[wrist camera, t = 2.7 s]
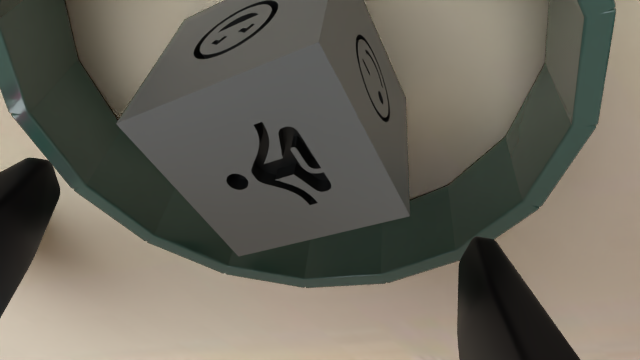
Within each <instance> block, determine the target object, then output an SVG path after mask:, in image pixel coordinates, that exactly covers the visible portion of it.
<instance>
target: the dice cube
mask: <svg viewBox="0 0 640 360" xmlns="http://www.w3.org/2000/svg"><path fill="white" fill-rule="evenodd" d="M116 124H117V125H118V126H119V128H120V129H121V130H122V131H123V132H124V133H125V134H126V135H127V136H128V137H129V138H130V139H131V141H132V142H133V143H134V144H135V145H136V146H137V147H138V148H139V149H140V150H141V151H142V152H143V154H144V155H145V156H146V157H147V158H148V159H149V160H150V161H151V162H152V163H153V164H154V165H155V167H156V168H157V169H158V170H159V171H160V172H161V173H162V174H163V175H164V176H165V177H166V178H167V180H168V181H169V182H170V183H171V184H172V185H173V186H174V187H175V188H176V189H177V190H178V191H179V193H180V194H181V195H182V196H183V197H184V198H185V199H186V200H187V201H188V202H189V203H190V204H191V206H192V207H193V208H194V209H195V210H196V211H197V212H198V213H199V214H200V215H201V216H202V217H203V219H204V220H205V221H206V222H207V223H208V224H209V225H210V226H211V227H212V228H213V229H214V230H215V232H216V233H217V234H218V235H219V236H220V237H221V238H222V239H223V240H224V241H225V242H226V243H227V245H228V246H229V247H230V248H231V249H232V250H233V251H234V252H235V253H236V254H237V255H238V256H243V255H247V254H252V253H256V252H260V251H264V250H269V249H273V248H277V247H281V246H286V245H290V244H294V243H298V242H303V241H307V240H311V239H315V238H320V237H324V236H328V235H332V234H337V233H341V232H345V231H349V230H354V229H358V228H362V227H366V226H371V225H375V224H379V223H383V222H388V221H392V220H396V219H400V218H405V217H409V216H410V199H409V172H408V146H407V120H406V97H405V95H404V93H403V91H402V88H401V86H400V84H399V81H398V79H397V77H396V74H395V72H394V70H393V68H392V65H391V63H390V61H389V58H388V56H387V54H386V51H385V49H384V47H383V45H382V42H381V40H380V38H379V35H378V33H377V31H376V28H375V26H374V24H373V22H372V19H371V17H370V15H369V12H368V10H367V8H366V5H365V3H364V1H363V0H224V1H222V2H220V3H218V4H216V5H214V6H212V7H210V8H208V9H206V10H203V11H201V12H199V13H197V14H195V15H193V16H191V17H189V18H187V19H185V20H184V21H183V23H182V24H181V26H180V27H179V29H178V30H177V32H176V33H175V35H174V36H173V38H172V39H171V41H170V42H169V44H168V45H167V47H166V48H165V50H164V51H163V53H162V55H161V56H160V58H159V59H158V61H157V62H156V64H155V65H154V67H153V68H152V70H151V71H150V73H149V74H148V76H147V77H146V79H145V80H144V82H143V83H142V85H141V86H140V88H139V89H138V91H137V92H136V94H135V95H134V97H133V99H132V100H131V102H130V103H129V105H128V106H127V108H126V109H125V111H124V112H123V114H122V115H121V117H120V118H119V120H118V121H117V123H116Z"/></svg>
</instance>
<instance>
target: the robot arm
mask: <svg viewBox="0 0 640 360" xmlns="http://www.w3.org/2000/svg"><path fill="white" fill-rule="evenodd" d="M59 196H60V186H59V183H58V180H57V177H56V174H55V171H54V168H53V165H52V164H51V163H50V162H49V161H48V160H43V159H37V158H27V159H24V160H22V161H21V162H19V163H17V164H15V165H13V166H11V167H9V168H7V169H6V170H4V171H2V172H0V318H1V316H2V314H3V312H4V310H5V309H6V307H7V305H8V303H9V302H10V300H11V298H12V296H13V295H14V293H15V291H16V289H17V287H18V286H19V284H20V282H21V280H22V279H23V277H24V275H25V273H26V272H27V270H28V268H29V266H30V264H31V262H32V260H33V258H34V256H35V254H36V252H37V249H38V247H39V245H40V242H41V240H42V237H43V235H44V233H45V230H46V228H47V226H48V223H49V221H50V218H51V216H52V214H53V211H54V209H55V206H56V204H57V202H58V199H59ZM457 335H458V349H459V359H460V360H580V359H579V357H578V356H577V354H576V353H575V352H574V350H573V349H572V347H571V346H570V345H569V343H568V342H567V340H566V339H565V338H564V336H563V335H562V333H561V332H560V331H559V329H558V328H557V326H556V325H555V324H554V322H553V321H552V319H551V318H550V317H549V315H548V314H547V312H546V311H545V309H544V308H543V307H542V305H541V304H540V302H539V301H538V300H537V298H536V297H535V295H534V294H533V293H532V291H531V290H530V288H529V287H528V286H527V284H526V283H525V281H524V280H523V279H522V277H521V276H520V274H519V273H518V272H517V270H516V269H515V267H514V266H513V265H512V263H511V262H510V260H509V259H508V258H507V256H506V255H505V253H504V252H503V251H502V249H501V248H500V246H499V245H498V244H497V242H496V241H495V240H493V239H490V238H484V237H479V236H476V237H474V238H473V239H472V240H471V242H470V244H469V245H468V247H467V249H466V251H465V252H464V254H463V256H462V257H461V260H460V263H459V276H458V317H457Z"/></svg>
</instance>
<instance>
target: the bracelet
mask: <svg viewBox="0 0 640 360" xmlns="http://www.w3.org/2000/svg"><path fill="white" fill-rule="evenodd" d="M615 15H616V9H615V1H614V0H549V8H548V24H547V39H546V54H545V64H544V66H543V68H542V70H541V71H540V73H539V75H538V77H537V79H536V81H535V83H534V84H533V86H532V88H531V90H530V92H529V94H528V96H527V98H526V99H525V101H524V103H523V105H522V107H521V109H520V111H519V113H518V114H517V116H516V118H515V120H514V122H513V124H512V126H511V128H510V129H509V131H508V133H507V135H506V137H505V138H503V139H502V140H501V141H500V142H499V143H497V144H496V145H495V146H494V147H493V148H492V149H490V150H489V151H488V152H487V153H486V154H484V155H483V156H482V157H481V158H480V159H479V160H477V161H476V162H475V163H474V164H473V165H472V166H470V167H469V168H468V169H467V170H466V171H464V172H463V173H462V174H461V175H460V176H459V177H457V178H456V179H455V180H454V181H453V182H452V183H450V184H449V185H448V186H445V187H443V188H440V189H438V190H435V191H433V192H430V193H428V194H425V195H423V196H420V197H418V198H415V199H413V200H410V216H409V217H405V218H400V219H396V220H392V221H388V222H383V223H379V224H375V225H371V226H366V227H362V228H358V229H354V230H349V231H345V232H341V233H337V234H332V235H328V236H324V237H320V238H315V239H311V240H307V241H303V242H298V243H294V244H290V245H286V246H281V247H277V248H273V249H269V250H264V251H260V252H256V253H252V254H247V255H243V256H238V255H237V254H236V253H235V252H234V251H233V250H232V249H231V248H230V247H229V246H228V245H227V243H226V242H225V241H224V240H223V239H222V238H221V237H220V236H219V235H218V234H217V233H216V232H215V230H214V229H213V228H212V227H211V226H210V225H209V224H208V223H207V222H206V221H205V220H204V219H203V217H202V216H201V215H200V214H199V213H198V212H197V211H196V210H195V209H194V208H193V207H192V206H191V204H190V203H189V202H188V201H187V200H186V199H185V198H184V197H183V196H182V195H181V194H180V193H179V191H178V190H177V189H176V188H175V187H174V186H173V185H172V184H171V183H170V182H169V181H168V180H167V178H166V177H165V176H164V175H163V174H162V173H161V172H160V171H159V170H158V169H157V168H156V167H155V165H154V164H153V163H152V162H151V161H150V160H149V159H148V158H147V157H146V156H145V155H144V154H143V152H142V151H141V150H140V149H139V148H138V147H137V146H136V145H135V144H134V143H133V142H132V141H131V139H130V138H129V137H128V136H127V135H126V134H125V133H124V132H123V131H122V130H121V129H120V128H119V126H118V125H117V124H116V123H117V121H118V120H117V118H116V117H115V115H114V114H113V112H112V111H111V109H110V108H109V106H108V105H107V103H106V102H105V100H104V98H103V97H102V95H101V94H100V92H99V91H98V89H97V88H96V86H95V85H94V83H93V82H92V80H91V78H90V77H89V75H88V74H87V72H86V71H85V69H84V68H83V66H82V65H81V63H80V62H79V60H78V56H77V52H76V48H75V43H74V39H73V35H72V31H71V26H70V22H69V18H68V13H67V9H66V5H65V0H0V90H1V92H2V95H3V98H4V100H5V103H6V106H7V108H8V111H9V113H12V114H11V115H12V117H13V118H14V119H15V120H16V121H17V123H18V124H19V125H20V126H21V128H22V129H23V130H24V131H25V132H26V134H27V135H28V136H29V137H30V138H31V140H32V141H33V142H34V143H35V145H36V146H37V147H38V148H39V149H40V151H41V152H42V153H43V154H44V156H45V157H46V158H47V159H48V160H49V162H50V163H51V164H52V165H53V166H54V168H55V169H56V170H57V171H58V173H59V174H60V175H61V176H62V177H63V179H64V180H65V181H66V182H67V183H68V185H69V186H70V187H71V188H72V189H74V191H75V192H77V193H78V194H79V195H81V196H82V197H84V198H85V199H86V200H88V201H89V202H91V203H92V204H93V205H95V206H96V207H98V208H99V209H101V210H102V211H103V212H105V213H106V214H108V215H109V216H110V217H112V218H113V219H115V220H116V221H117V222H119V223H120V224H122V225H123V226H124V227H126V228H127V229H129V230H130V231H131V232H133V233H134V234H136V235H137V236H138V237H140V238H141V239H143V240H144V241H147V242H148V243H150V244H152V245H155V246H157V247H160V248H162V249H164V250H167V251H169V252H172V253H174V254H177V255H179V256H182V257H184V258H186V259H189V260H191V261H194V262H196V263H199V264H201V265H204V266H206V267H208V268H211V269H213V270H216V271H218V272H221V273H226V274H227V275H233V276H238V277H244V278H250V279H256V280H262V281H268V282H273V283H279V284H285V285H291V286H297V287H303V288H304V287H306V288H316V287H334V286H352V285H370V284H385V283H386V282H387V283H390V282H393V281H396V280H400V279H403V278H406V277H409V276H412V275H415V274H419V273H422V272H425V271H428V270H431V269H434V268H438V267H441V266H444V265H447V264H450V263H454V262H457V261H460V260H461V257H462V256H463V254H464V252H465V251H466V249H467V247H468V245H469V244H470V242H471V240H472V239H473V238H474V237H476V236H479V237H484V238H490V239H493V240H494V239H496V238H497V237H499V236H500V235H501V234H503V233H504V232H506V231H507V230H509V229H510V228H512V227H513V226H515V225H516V224H518V223H519V222H520V221H522V220H523V219H525V218H526V217H528V216H529V215H531V214H532V213H534V212H535V211H536V210H538V209H539V207H541V206H542V205H543V203H544V202H545V201H546V199H547V198H548V196H549V195H550V193H551V192H552V190H553V189H554V188H555V186H556V185H557V183H558V182H559V180H560V179H561V177H562V176H563V175H564V173H565V172H566V170H567V169H568V167H569V166H570V164H571V163H572V162H573V160H574V159H575V157H576V156H577V154H578V153H579V151H580V150H581V149H582V147H583V146H584V144H585V143H586V141H587V140H588V138H589V137H590V136H591V134H592V133H593V131H594V130H595V128H596V125H597V124H598V120H599V114H600V108H601V102H602V95H603V89H604V83H605V77H606V71H607V64H608V58H609V52H610V46H611V40H612V33H613V27H614V21H615Z"/></svg>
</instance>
